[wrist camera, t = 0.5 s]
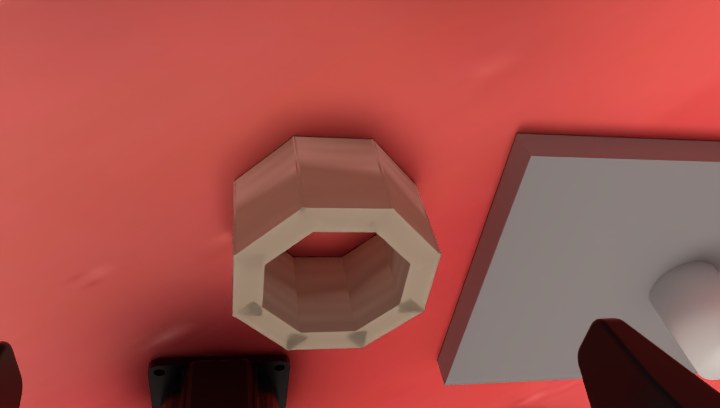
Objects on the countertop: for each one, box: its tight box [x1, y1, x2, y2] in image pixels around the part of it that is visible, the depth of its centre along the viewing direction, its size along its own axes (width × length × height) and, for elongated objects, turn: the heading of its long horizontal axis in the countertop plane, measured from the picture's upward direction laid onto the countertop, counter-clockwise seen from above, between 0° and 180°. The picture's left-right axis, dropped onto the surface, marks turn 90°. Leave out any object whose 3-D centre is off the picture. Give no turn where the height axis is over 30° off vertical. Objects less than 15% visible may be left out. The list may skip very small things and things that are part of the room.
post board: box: [437, 133, 720, 385], centre depth 28 cm, size 14×20×6 cm
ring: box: [232, 136, 441, 351], centre depth 23 cm, size 7×7×4 cm
